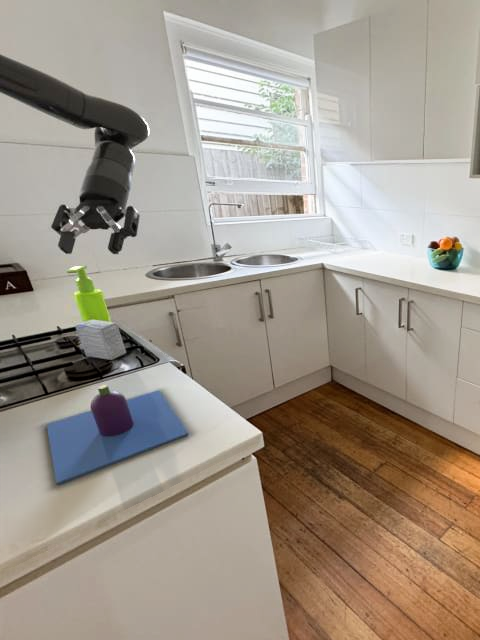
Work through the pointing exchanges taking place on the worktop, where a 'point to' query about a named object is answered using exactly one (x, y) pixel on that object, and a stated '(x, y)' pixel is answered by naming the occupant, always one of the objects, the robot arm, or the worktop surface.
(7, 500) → the worktop surface
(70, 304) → the worktop surface
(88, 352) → the medicine box
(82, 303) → the soap dispenser
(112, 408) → the eggplant
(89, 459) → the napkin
